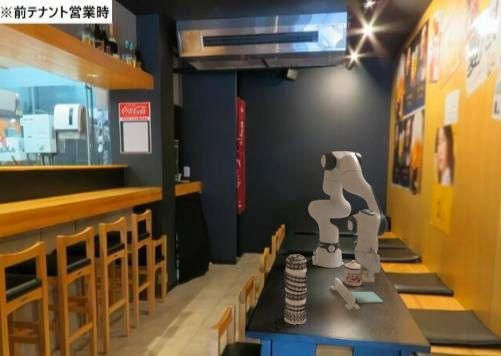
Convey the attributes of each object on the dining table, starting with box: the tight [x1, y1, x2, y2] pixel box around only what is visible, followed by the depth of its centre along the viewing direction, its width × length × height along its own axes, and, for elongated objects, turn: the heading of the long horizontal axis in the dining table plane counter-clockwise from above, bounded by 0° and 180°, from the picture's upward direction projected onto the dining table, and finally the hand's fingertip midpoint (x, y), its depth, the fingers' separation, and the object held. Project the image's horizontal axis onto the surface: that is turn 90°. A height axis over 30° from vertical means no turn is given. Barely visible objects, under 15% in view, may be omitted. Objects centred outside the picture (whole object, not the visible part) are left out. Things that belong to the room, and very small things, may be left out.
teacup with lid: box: [343, 259, 363, 287], centre depth 170 cm, size 12×9×12 cm
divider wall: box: [330, 277, 361, 311], centre depth 151 cm, size 24×5×5 cm, turn 3°
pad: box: [350, 291, 384, 304], centre depth 152 cm, size 11×11×1 cm
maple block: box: [359, 267, 376, 283], centre depth 151 cm, size 5×5×5 cm
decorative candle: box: [283, 253, 309, 325], centre depth 130 cm, size 9×9×25 cm
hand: (366, 276), depth 151 cm, fingers closed on maple block, 5 cm apart
